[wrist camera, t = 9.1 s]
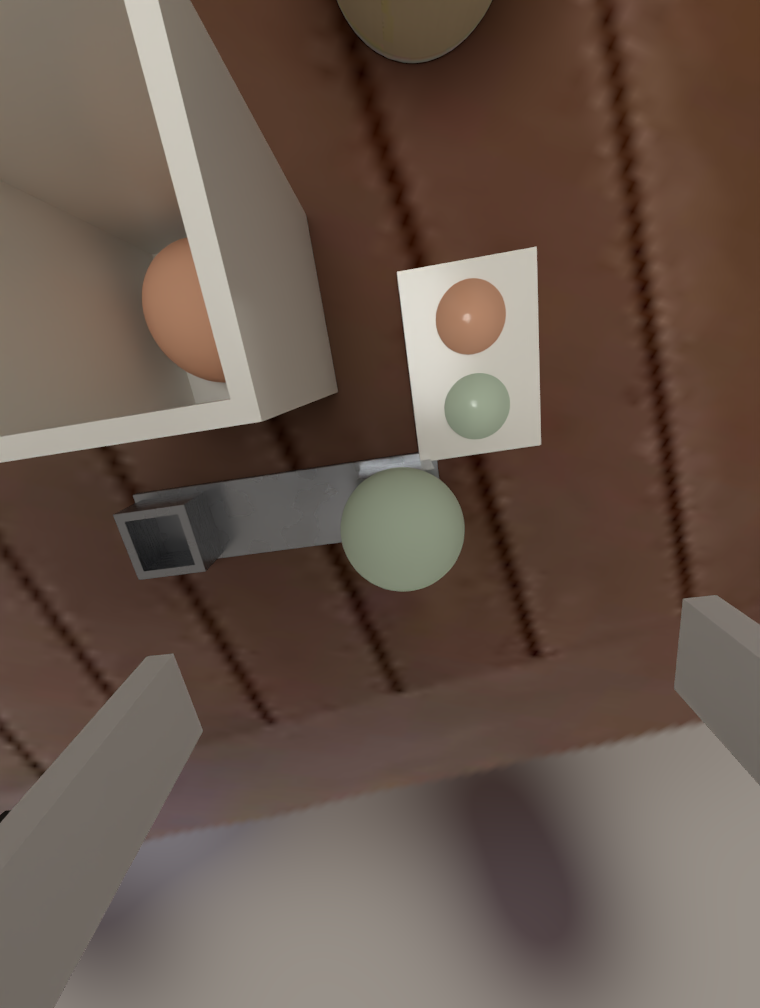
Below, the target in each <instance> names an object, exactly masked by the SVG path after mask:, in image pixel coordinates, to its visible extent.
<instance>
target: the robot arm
mask: <svg viewBox="0 0 760 1008" xmlns="http://www.w3.org/2000/svg"><path fill="white" fill-rule="evenodd" d="M674 689H675V690H676V692H677V693H678V694H679V695H680V696H681V697H682V698H683V699H684V701H685V702H686V703H687V704H688V705H689V706H690V707H691V708H692V710H693V711H694V712H695V713H696V714H697V715H698V716H699V717H700V719H701V720H702V721H703V722H704V723H705V724H706V725H707V726H708V728H709V729H710V730H711V731H712V732H713V733H714V734H715V735H716V737H717V738H718V739H719V740H720V741H721V742H722V743H723V744H724V746H725V747H726V748H727V749H728V750H729V751H730V752H731V753H732V755H733V756H734V757H735V758H736V759H737V760H738V761H739V762H740V763H741V765H742V766H743V767H744V768H745V769H746V770H747V771H748V773H749V774H750V775H751V776H752V777H753V778H754V779H755V781H756V782H757V783H758V784H759V785H760V625H759V624H758V623H756V622H755V621H753V620H752V619H750V618H749V617H748V616H746V615H745V614H743V613H742V612H740V611H739V610H737V609H736V608H734V607H733V606H732V605H730V604H729V603H727V602H726V601H724V600H723V599H721V598H720V597H718V596H717V595H713V596H704V597H695V598H685V599H683V605H682V615H681V624H680V634H679V644H678V654H677V664H676V674H675V684H674ZM202 732H203V730H202V727H201V724H200V722H199V719H198V717H197V714H196V711H195V709H194V706H193V704H192V701H191V698H190V696H189V693H188V691H187V688H186V685H185V683H184V680H183V678H182V675H181V672H180V670H179V667H178V664H177V662H176V659H175V657H174V654H164V655H155V656H147V657H146V658H145V659H144V660H143V661H142V662H141V664H140V665H139V666H138V667H137V668H136V669H135V670H134V671H133V673H132V674H131V675H130V676H129V677H128V678H127V679H126V681H125V682H124V683H123V684H122V685H121V686H120V687H119V689H118V690H117V691H116V692H115V693H114V694H113V695H112V696H111V698H110V699H109V700H108V701H107V702H106V703H105V704H104V706H103V707H102V708H101V709H100V710H99V711H98V712H97V714H96V715H95V716H94V717H93V718H92V719H91V720H90V721H89V723H88V724H87V725H86V726H85V727H84V728H83V729H82V731H81V732H80V733H79V734H78V735H77V736H76V737H75V739H74V740H73V741H72V742H71V743H70V744H69V745H68V746H67V748H66V749H65V750H64V751H63V752H62V753H61V754H60V756H59V757H58V758H57V759H56V760H55V761H54V762H53V764H52V765H51V766H50V767H49V768H48V769H47V770H46V771H45V773H44V774H43V775H42V776H41V777H40V778H39V779H38V781H37V782H36V783H35V784H34V785H33V786H32V787H31V789H30V790H29V791H28V792H27V793H26V794H25V795H24V796H23V798H22V799H21V800H20V801H19V802H18V803H17V804H16V806H15V807H14V808H13V809H12V810H10V811H5V812H3V813H2V814H1V815H0V1008H54V1007H55V1005H56V1003H57V1001H58V999H59V998H60V996H61V994H62V992H63V990H64V988H65V987H66V985H67V983H68V981H69V979H70V977H71V975H72V973H73V972H74V970H75V968H76V966H77V964H78V962H79V960H80V959H81V957H82V955H83V953H84V951H85V949H86V947H87V946H88V944H89V942H90V940H91V938H92V936H93V934H94V932H95V931H96V929H97V927H98V925H99V923H100V921H101V920H102V918H103V916H104V914H105V912H106V910H107V908H108V906H109V905H110V903H111V901H112V899H113V897H114V895H115V894H116V892H117V890H118V888H119V886H120V884H121V882H122V881H123V879H124V877H125V875H126V873H127V871H128V869H129V867H130V866H131V864H132V862H133V860H134V858H135V856H136V855H137V853H138V851H139V849H140V847H141V845H142V843H143V842H144V840H145V838H146V836H147V834H148V832H149V830H150V829H151V827H152V825H153V823H154V821H155V819H156V817H157V816H158V814H159V812H160V810H161V808H162V806H163V804H164V803H165V801H166V799H167V797H168V795H169V793H170V791H171V790H172V788H173V786H174V784H175V782H176V780H177V778H178V777H179V775H180V773H181V771H182V769H183V767H184V765H185V764H186V762H187V760H188V758H189V756H190V754H191V752H192V750H193V749H194V747H195V745H196V743H197V741H198V739H199V737H200V736H201V734H202Z"/></svg>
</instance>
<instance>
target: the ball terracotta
mask: <svg viewBox="0 0 760 1008" xmlns="http://www.w3.org/2000/svg"><path fill="white" fill-rule="evenodd" d="M142 307H143V313H144V317H145V320H146V323H147V326H148V328H149V330H150V332H151V334H152V336H153V338H154V340H155V341H156V343H157V344H158V346H159V347H160V349H161V350H162V351H163V352H164V354H165V355H166V356H167V357H168V358H169V359H170V360H171V361H173V362H174V363H175V364H176V365H178V366H179V367H180V368H182V369H183V370H185V371H186V372H188V373H190V374H192V375H194V376H197V377H199V378H202V379H205V380H208V381H213V382H223V383H226V380H225V377H224V373H223V369H222V365H221V362H220V358H219V354H218V350H217V347H216V343H215V339H214V336H213V332H212V328H211V324H210V321H209V317H208V313H207V309H206V306H205V302H204V298H203V294H202V291H201V287H200V283H199V279H198V276H197V272H196V268H195V264H194V261H193V257H192V253H191V249H190V246H189V242H188V238H187V237H186V238H183V239H179V240H177V241H175V242H173V243H171V244H169V245H168V246H166V247H165V248H164V249H162V250H161V251H160V252H159V253H158V254H157V255H156V256H155V258H154V259H153V260H152V262H151V263H150V265H149V267H148V269H147V272H146V274H145V277H144V281H143V286H142Z"/></svg>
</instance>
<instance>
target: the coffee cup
mask: <svg viewBox="0 0 760 1008" xmlns="http://www.w3.org/2000/svg"><path fill="white" fill-rule="evenodd" d="M337 2H338V5H339V7H340V9H341V11H342V13H343V15H344V16H345V18H346V20H347V21H348V23H349V25H350V26H351V28H352V29H353V30H354V32H355V33H356V34H357V35H358V36H359V37H360V38H361V40H362V41H363V42H364V43H365V44H366V45H367V46H369V47H370V48H371V49H372V50H374V51H375V52H377V53H379V54H381V55H383V56H384V57H386V58H388V59H391V60H395V61H399V62H403V63H420V62H427V61H430V60H433V59H436V58H439V57H441V56H443V55H445V54H446V53H448V52H450V51H452V50H453V49H454V48H455V47H457V46H458V45H459V44H460V43H461V42H463V41H464V40H465V39H466V38H467V37H468V36H469V35H470V33H471V32H472V31H473V30H474V29H475V28H476V26H477V25H478V23H479V22H480V21H481V19H482V18H483V16H484V15H485V13H486V11H487V10H488V8H489V6H490V4H491V2H492V0H337Z"/></svg>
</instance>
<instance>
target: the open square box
mask: <svg viewBox="0 0 760 1008" xmlns="http://www.w3.org/2000/svg"><path fill="white" fill-rule="evenodd" d="M186 237H187V238H188V242H189V246H190V249H191V253H192V257H193V261H194V264H195V268H196V272H197V276H198V279H199V283H200V287H201V291H202V294H203V298H204V302H205V306H206V309H207V313H208V317H209V321H210V324H211V328H212V332H213V336H214V339H215V343H216V347H217V350H218V354H219V358H220V362H221V365H222V369H223V373H224V377H225V380H226V383H223V382H213V381H208V380H205V379H202V378H199V377H197V376H194V375H192V374H190V373H188V372H186V371H185V370H183V369H182V368H180V367H179V366H178V365H176V364H175V363H174V362H173V361H171V360H170V359H169V358H168V357H167V356H166V355H165V354H164V352H163V351H162V350H161V349H160V347H159V346H158V344H157V343H156V341H155V340H154V338H153V336H152V334H151V332H150V330H149V328H148V326H147V323H146V320H145V317H144V313H143V307H142V286H143V281H144V277H145V274H146V272H147V269H148V267H149V265H150V263H151V262H152V260H153V259H154V258H155V256H156V255H157V254H158V253H159V252H160V251H161V250H162V249H164V248H165V247H166V246H168V245H169V244H171V243H173V242H175V241H177V240H179V239H183V238H186ZM337 392H338V388H337V383H336V377H335V372H334V366H333V361H332V355H331V350H330V344H329V339H328V333H327V328H326V322H325V316H324V311H323V305H322V300H321V294H320V289H319V283H318V278H317V272H316V267H315V261H314V256H313V250H312V245H311V239H310V234H309V228H308V223H307V217H306V214H305V212H304V210H303V208H302V206H301V205H300V203H299V201H298V199H297V197H296V195H295V194H294V192H293V190H292V188H291V186H290V184H289V182H288V181H287V179H286V177H285V175H284V173H283V171H282V169H281V168H280V166H279V164H278V162H277V160H276V158H275V157H274V155H273V153H272V151H271V149H270V147H269V145H268V144H267V142H266V140H265V138H264V136H263V134H262V132H261V131H260V129H259V127H258V125H257V123H256V121H255V120H254V118H253V116H252V114H251V112H250V110H249V108H248V107H247V105H246V103H245V101H244V99H243V97H242V95H241V94H240V92H239V90H238V88H237V86H236V84H235V83H234V81H233V79H232V77H231V75H230V73H229V71H228V70H227V68H226V66H225V64H224V62H223V60H222V59H221V57H220V55H219V53H218V51H217V49H216V47H215V46H214V44H213V42H212V40H211V38H210V36H209V34H208V33H207V31H206V29H205V27H204V25H203V23H202V22H201V20H200V18H199V16H198V14H197V12H196V10H195V9H194V7H193V5H192V3H191V1H190V0H0V463H1V462H7V461H14V460H20V459H27V458H33V457H39V456H46V455H52V454H58V453H65V452H71V451H78V450H84V449H90V448H97V447H103V446H109V445H116V444H122V443H129V442H135V441H141V440H148V439H154V438H160V437H167V436H173V435H180V434H186V433H192V432H199V431H205V430H211V429H218V428H224V427H231V426H237V425H243V424H250V423H256V422H262V421H265V420H267V419H270V418H273V417H275V416H278V415H280V414H283V413H285V412H288V411H291V410H293V409H296V408H298V407H301V406H303V405H306V404H309V403H311V402H314V401H316V400H319V399H321V398H324V397H327V396H329V395H332V394H334V393H337Z"/></svg>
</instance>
